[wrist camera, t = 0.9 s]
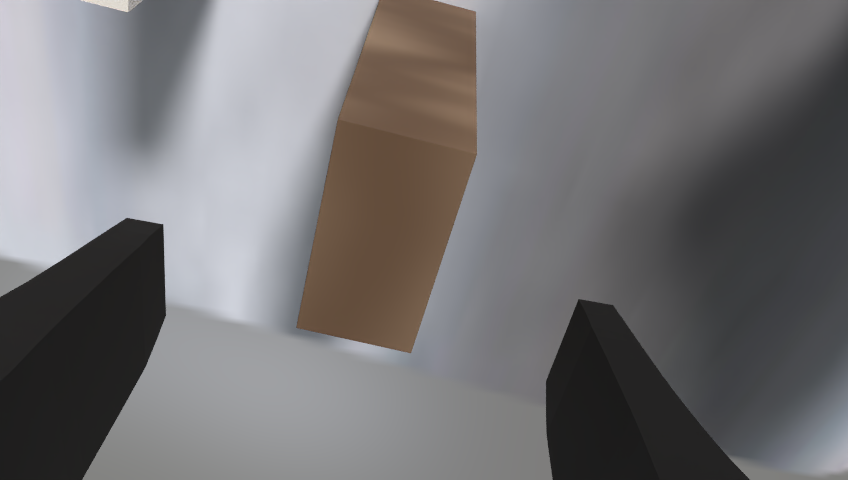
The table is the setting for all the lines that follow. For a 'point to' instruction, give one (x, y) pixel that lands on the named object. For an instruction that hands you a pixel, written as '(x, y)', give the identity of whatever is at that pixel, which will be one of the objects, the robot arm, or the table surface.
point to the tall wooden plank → (394, 175)
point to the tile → (117, 4)
